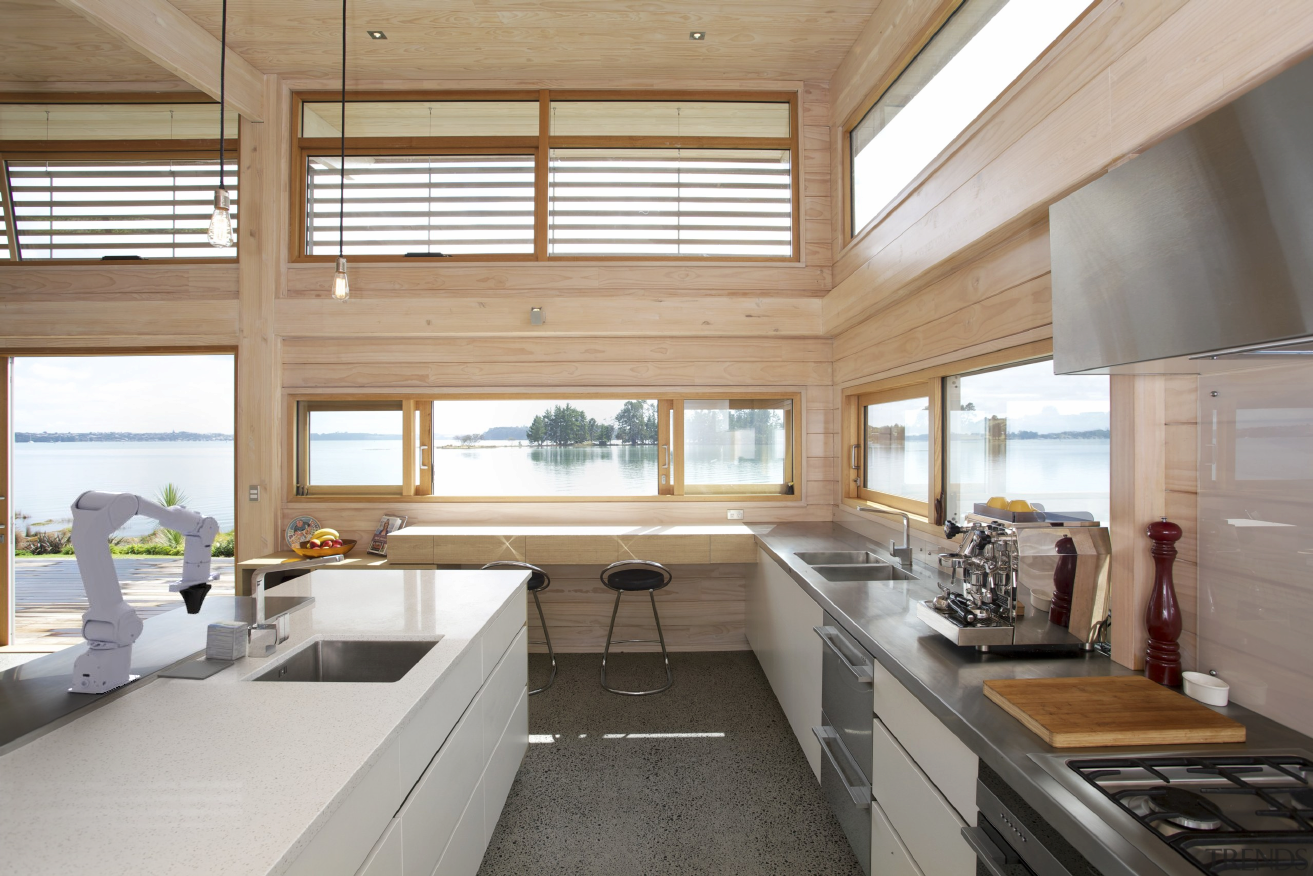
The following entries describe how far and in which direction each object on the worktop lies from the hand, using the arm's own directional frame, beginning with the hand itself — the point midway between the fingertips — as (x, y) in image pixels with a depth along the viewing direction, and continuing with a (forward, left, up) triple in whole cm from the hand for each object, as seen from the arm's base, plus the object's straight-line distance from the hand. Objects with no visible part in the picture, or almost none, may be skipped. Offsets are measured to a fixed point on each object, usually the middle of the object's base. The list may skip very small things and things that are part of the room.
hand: (193, 613), depth 155 cm
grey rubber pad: (-10, -10, -11) cm, 17 cm away
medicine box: (-1, -10, -11) cm, 15 cm away
